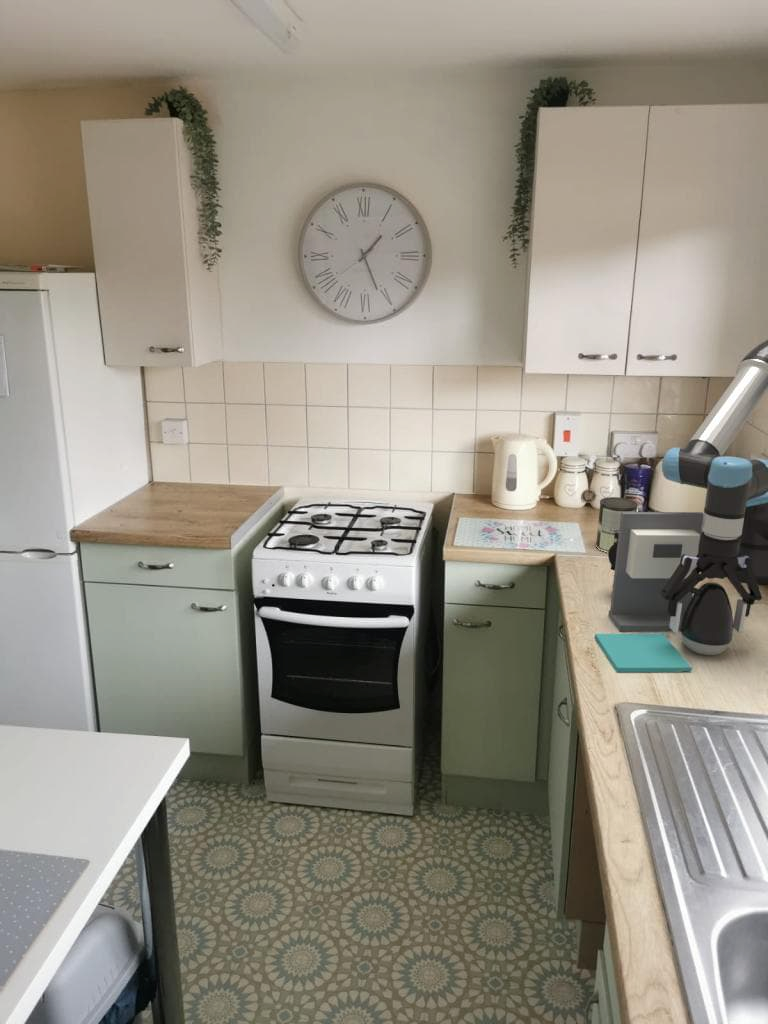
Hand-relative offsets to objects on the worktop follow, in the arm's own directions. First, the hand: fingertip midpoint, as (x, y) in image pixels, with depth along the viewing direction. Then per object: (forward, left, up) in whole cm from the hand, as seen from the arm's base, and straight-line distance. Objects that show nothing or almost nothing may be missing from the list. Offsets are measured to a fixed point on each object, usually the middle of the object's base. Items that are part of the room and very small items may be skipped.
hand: (705, 630), depth 160 cm
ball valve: (+3, -30, -5) cm, 31 cm away
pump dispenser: (0, 0, -5) cm, 5 cm away
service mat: (+14, +2, -5) cm, 15 cm away
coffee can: (-1, -62, -5) cm, 62 cm away
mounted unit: (+6, -13, -5) cm, 15 cm away
